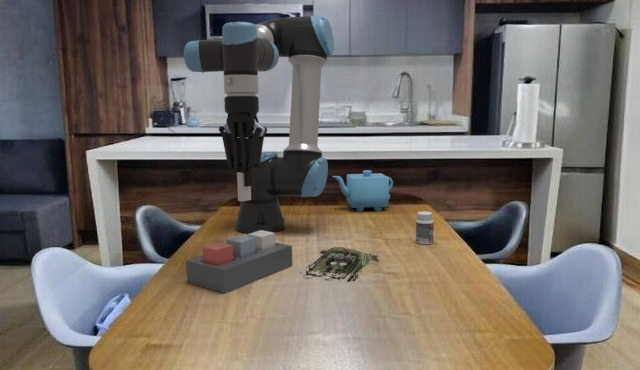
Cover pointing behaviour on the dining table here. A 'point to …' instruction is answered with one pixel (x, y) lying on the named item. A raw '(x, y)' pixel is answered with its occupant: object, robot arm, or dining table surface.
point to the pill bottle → (424, 228)
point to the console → (239, 268)
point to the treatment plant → (341, 263)
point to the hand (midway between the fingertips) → (244, 200)
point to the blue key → (242, 245)
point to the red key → (217, 253)
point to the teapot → (366, 190)
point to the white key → (263, 239)
